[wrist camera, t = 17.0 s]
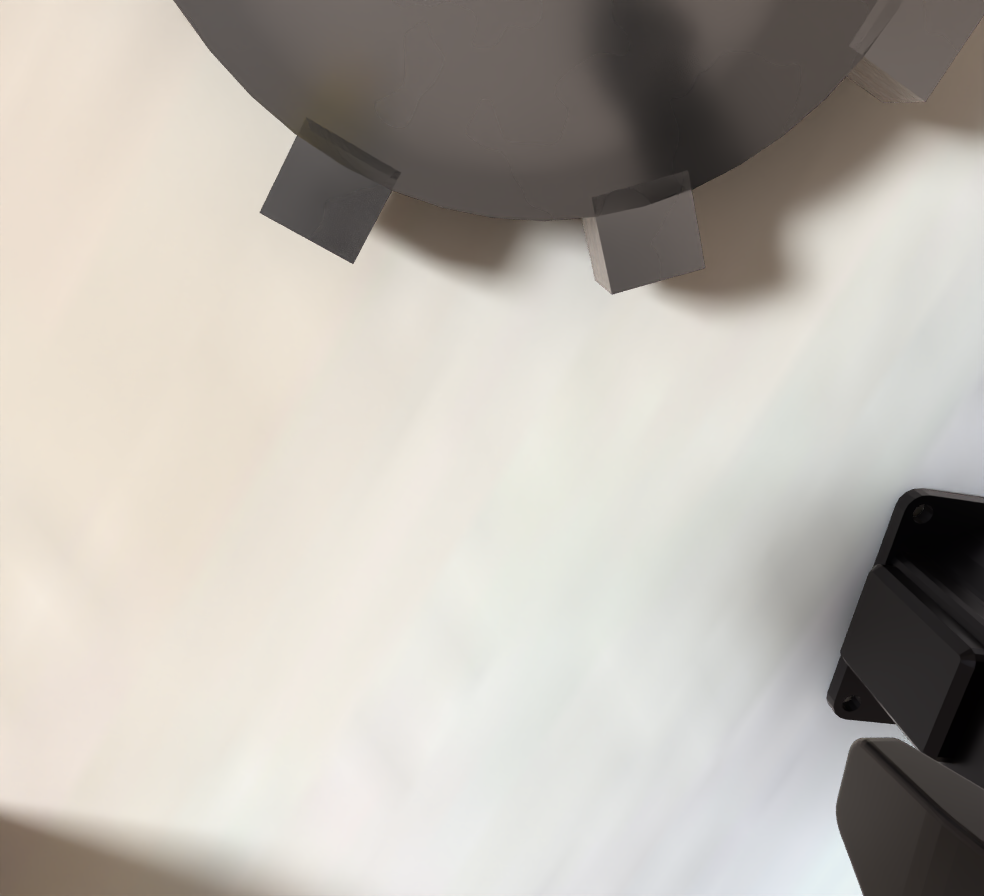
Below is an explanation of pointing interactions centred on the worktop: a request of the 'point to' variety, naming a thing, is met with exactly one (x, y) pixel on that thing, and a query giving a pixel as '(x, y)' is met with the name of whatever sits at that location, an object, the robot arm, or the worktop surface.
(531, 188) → the sprocket
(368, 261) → the worktop surface
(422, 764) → the worktop surface
